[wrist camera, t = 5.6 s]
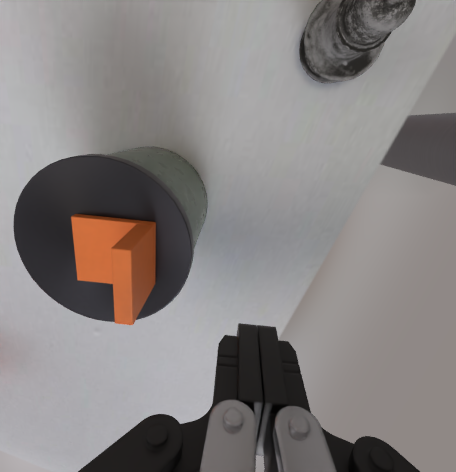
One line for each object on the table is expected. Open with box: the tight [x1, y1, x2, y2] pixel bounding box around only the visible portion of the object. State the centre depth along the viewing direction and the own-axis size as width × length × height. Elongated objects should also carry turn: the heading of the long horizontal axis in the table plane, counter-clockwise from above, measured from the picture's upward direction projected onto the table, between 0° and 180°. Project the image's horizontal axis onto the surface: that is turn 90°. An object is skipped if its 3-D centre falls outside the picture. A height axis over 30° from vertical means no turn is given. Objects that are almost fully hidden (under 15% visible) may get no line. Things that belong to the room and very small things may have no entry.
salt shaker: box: [300, 0, 416, 83], centre depth 19 cm, size 6×6×12 cm
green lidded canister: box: [14, 147, 207, 322], centre depth 25 cm, size 12×12×12 cm
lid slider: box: [71, 214, 156, 325], centre depth 17 cm, size 5×4×4 cm
